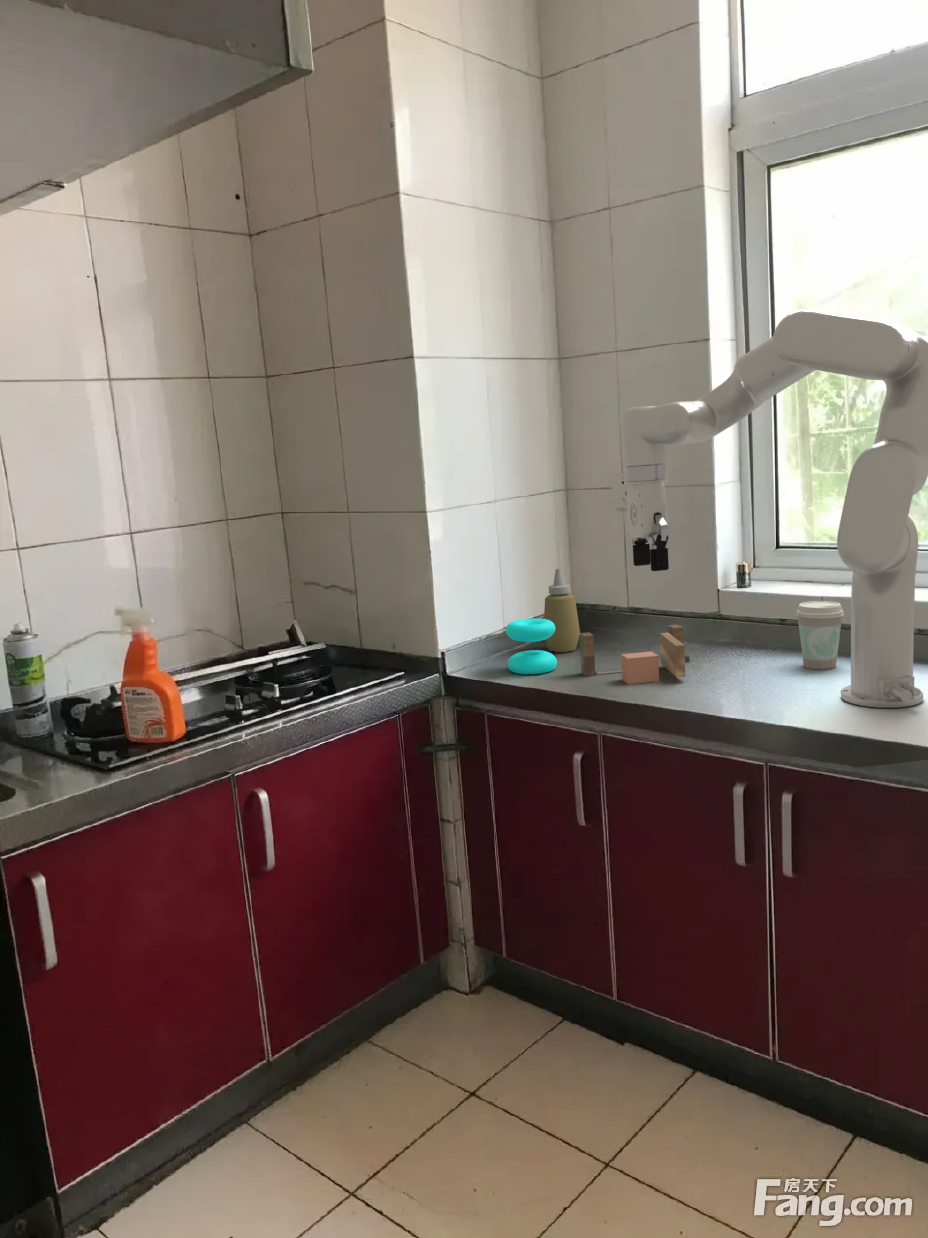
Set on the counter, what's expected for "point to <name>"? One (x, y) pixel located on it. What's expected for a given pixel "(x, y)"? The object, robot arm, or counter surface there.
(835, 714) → the counter surface
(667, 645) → the door
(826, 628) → the coffee cup
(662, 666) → the door frame
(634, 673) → the salmon pink block
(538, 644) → the counter surface
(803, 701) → the counter surface
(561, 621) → the squeeze bottle
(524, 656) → the donuts
